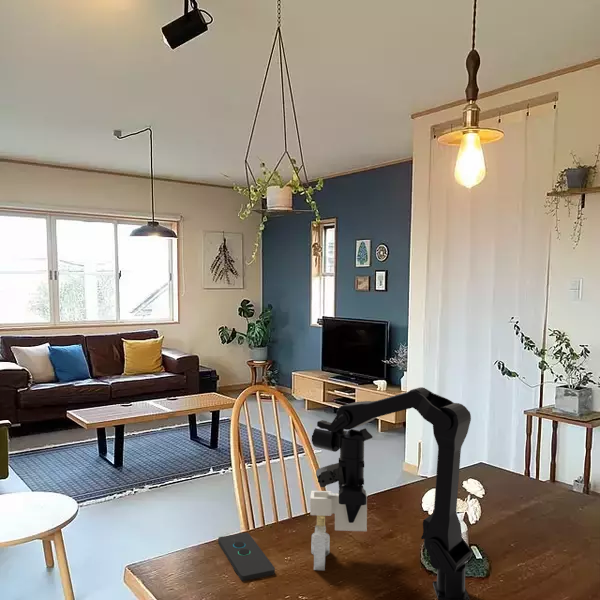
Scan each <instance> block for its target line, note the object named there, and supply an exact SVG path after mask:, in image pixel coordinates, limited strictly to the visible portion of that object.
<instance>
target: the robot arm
mask: <svg viewBox="0 0 600 600" xmlns="http://www.w3.org/2000/svg"><path fill="white" fill-rule="evenodd" d="M409 409H414V410H416V411H417V412H418V413H419V415H420V416H421V417H422V418H423V419H424V420H425V421H427V422H429V423H430V424H431V425H432V429H433V436H434V440H435V441H436V443H437V444H436V445H437V449H438V450H437V462H436V463H437V464H436V477H435V488H434V489H435V491H434V502H433V503H434V504H433V513H432V514H430V515H428V516H427V517H425V518H424V519H423V521H422V535H421V538H420V539H421V540H423V546H424V549H425V550H426V551H427V553H428V556H429V559H430V563H431V567H432V568H433V569H435V570H436V574H437V575H436V581H435V580H434V581H433V582H432V586H433V590H434V591H435V595H436V597H437V600H470V596H469V593H468V592H467V589H466V563H467V562H468V561H470V560H471V557H472V556H473V551H472V550H473V549H471V547H470V546H469V545H468V543H467V542H466V541H465V540H464V538H463V534H462V524H461V522H460V519H459V517H458V514H457V507H458V493H459V491H458V490H459V480H460V466H461V465H460V464H461V453H462V452H461V451H462V447H463V444H464V442H465V439H466V437H467V435H468V433H469V430H470V429H469V428H470V425H471V420H472V416H471V412H470V411H469V410H468V407H466V406H465V405H464V404H462V403H458V402H453V401H452V400H450V399H448V398H446V397H444V396H441V395H439V394H436V393H433V392H432V391H431V390H429V389H427V388H425V387H416V388H413V389H410V390H409V391H406V392H403V393H399V394H396V395H392V396H389V397H385V398H382V399H378V400H373V401H372V400H364V401H355V402H351V403H347V404H344V405H341V406H339V407H338V408H337V412H336V416H335V417H334V419H333V420H332V422H329V421H327V420H324V419H323V420H322V419H321V420H318V421H317V425H316V427H315V428H314V429H313V432H312V434H311V443H312V445H313V447H314V448H318V449H323V450H326V451H330V452H335V453H336V452H338V451H339V457H338V462H336V463H331V464H328V465H326V466H322V467H319V468H317V469H316V472H315V476H316V479H317V483H318V484H319V487H320V488H325V487H326V486H329V485H331V484H335V483H338V493H339V504H345V505H346V510H347V515H348V521H349V523H353V522H354V520H355V518H356V516H357V514H358V511H359V509H360V507H361V505H366V495H367V492H366V489H365V488H364V486H365V479H364V477H365V475H364V471H365V469H364V468H365V441H368V440H371V439H373V438H374V437H373V434H371V433H370V432H369V431H368V430H367V428H365V427H364V428H363V429H360V430H357V429H355V428H358V427H361V426H364V425H366V424H368V423H370V422H372V421H374V420H375V419H377V418H379V417H382V416H386V415H390V414H393V413H394V414H395V413H397V412H402V411H405V410H409ZM347 430H348V431H347Z"/></svg>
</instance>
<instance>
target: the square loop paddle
mask: <svg viewBox="0 0 600 600" xmlns="http://www.w3.org/2000/svg"><path fill="white" fill-rule="evenodd" d="M310 492H311V493H310V507H309V508H310V512H309V513H310V514H309V515H310V516H317V515H322V516H325V517H326V516H327V517H328V516H329V517H330V516H332V515H333V514H334V531H341V532H343V531H345V532H346V531H347V532H348V531H349V532H368V529H367V528H368V527H367V526H368V521H367V520H368V518H367V517H368V497H367V496H368V495H367V494H366V505H361V507H360V509H359V511H358V514H357V516H356V518H355V520H354V522H353V523H349V521H348V515H347V510H346V505H345V504H339V492H337V493H335V492H334V493H333V492H332V490H331V491H330V490H310Z"/></svg>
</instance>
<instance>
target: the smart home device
mask: <svg viewBox="0 0 600 600" xmlns="http://www.w3.org/2000/svg"><path fill="white" fill-rule="evenodd" d="M218 545H219V547H220V549H221V550H222V552H223V554H224V555H225V556H226V558H227V560H228V561H229V563H230V565H231V567H232V569H233V571H234V572H235V573H236V574H237V576H238V578H239V580H241V581H242V582H244V581H250V579H251V580H254V579H256V580H257V579H259V578H260V579H261V578H264V577H268V576H269V577H270V576H274V575H275V574H276V573H275V572H276V568H275V566H274V565H273V563H272V562H271V561H270V560H269V558H268V557H267V556H266V554H265V553H264V552H263V550H262V549H261V547H259V545H258V543H257V542H256V541H255V539H254V538H253V537H252V536H251V535H250V532H241V533H235V534H229V535H224V536H219V537H218Z"/></svg>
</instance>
